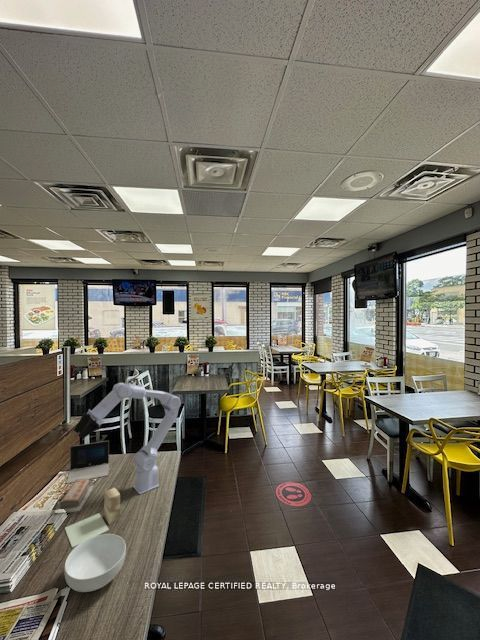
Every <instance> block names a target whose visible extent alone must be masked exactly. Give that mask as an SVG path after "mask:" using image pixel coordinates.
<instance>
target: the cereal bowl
mask: <svg viewBox="0 0 480 640" xmlns="http://www.w3.org/2000/svg"><path fill="white" fill-rule="evenodd" d="M126 553H127V546H126V541H125V540H124V538H122V537H121V536H120V535H117V534H113V533H103V534H101V535H97V536H94V537H91V538H89V539H87V540H85V541H83V542H82V543H80V544H79V545H78V546H75V547H73V548H72V550H71V551H70V553H69V554H68V556H67V557H66V559H65V563H64V570H63V571H64V578H65V581H66V584H67V585H68V586H69V587H70V589H72V590H74V591H75V592H79V593H87V592H93V591H97V590H99V589H102V588H103V587H105V586H107V585H108V584H109V583H110V582H112V581H114V579H115V577H117V575H118V574H119V573H120V571H121V569H122V568H123V565H124V563H125V560H126Z"/></svg>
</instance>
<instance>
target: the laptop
mask: <svg viewBox="0 0 480 640" xmlns="http://www.w3.org/2000/svg"><path fill="white" fill-rule="evenodd" d="M69 452H70V455H69V456H70V464H69V465H70V466H69V467H70V469H69V470H70V471H69V473H68V477H67V480H66V483H65V484H73V483H74V482H75V480H77V479H89V480H93V479H97V478H98V479H99V478H103V477H107V476H109V470H110V469H109V467H110V440H103V441H99V442H98V441H97V442H91V443H85V444H84V443H83V444H78V445H71V446H70V451H69Z"/></svg>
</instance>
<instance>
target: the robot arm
mask: <svg viewBox="0 0 480 640" xmlns="http://www.w3.org/2000/svg"><path fill="white" fill-rule="evenodd" d="M126 398H129V399H137V400H141V399H143V398H152V399H158V400H159V402H160V405H161V406H162V407H163V409H164V414H165V415H164V417H163V418H162V420H161V421H160V423H159V424H158V426H157V428H156V429H155V431H154V433H153V434H152V436H151V437H150V440H149V441H148V443H147V444H145V445H143V446H141V448H140V450H139V451H137V452H136V453H135V456H134V463H135V464H136V470H135V471H136V478H135V479H136V480H135V481H136V483H135V484H133V485H132V488H134V490H135V491H136V492H137V493H138V494H139V495H141V494H144V493H146V492H149V491H152V490H154V489H157V488H159V486H160V484H159V468H158V466H157V465H156V461H157V459H158V450H159V448H160V446H161V445H162V443H163V442H164V439H165V437H166V436H167V434H168V432H169V431H170V429H171V427H172V426H173V424H174V423H175V421H176V419H177V418H178V414H179V410H180V407H181V405H182V402H181V399H180V397H179V396H176V395H174V394H171V393H170V392H166V391H164V390H163V391H162V390H155V389H146V387H145V386H143V384H139V383H138V384H137V385H136V384H132V383H130V382H129V383H128V384H126V383H125V382H118V383H116V384H114V385H113V387H112V390H111V391H110V392H109V393H108V394H107V395H106V396H105V397H104V398H103V399H102V400H100V402H99V403H98V404H97V405H96V406H95V407H94V408H93V409H92V410H91V409H90V408H89V409H88V411H87V413H84V412H83V413H82V415H81V417H80V419H79V421H78V422H77V424H76V425H75V427H74V429H73V431H74V432H75V433H76V434H78V438H80V439H82V440H83V439H85V438H86V437H87V436H89V435H91V434H92V433H94V432H96V431H98V430H100V429H101V427H100V426H101V425H102V424H103V423H104V420H103V419H105V417H107V415H108V414H109V413H110V412H111V411H112V410H113V409H114V408H115V407H116V406H117V405H118V404H119V403H120V402H121V401H122V400H123V399H126Z"/></svg>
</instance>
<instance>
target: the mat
mask: <svg viewBox="0 0 480 640" xmlns="http://www.w3.org/2000/svg"><path fill="white" fill-rule="evenodd" d="M64 531H65V532H66V535H67V539H68V540H69V544H70V546H71V548H72V549H74V548H75V547H76V546H78V545H79V544H80V543H82V542H83V541H85V540H87V539H89V538H91V537H94V536H97V535H102V534H106V533H107V532H109V531H110V529H109V527H108V525H107V524H106V522H105V520H104V519H103V517H102V515H101V513H99V512H97V513H95V514H94V515H91V516H89V517H87V518H84V519H82V520H80V521H76V522H75V523H72V524H70V525H68V526H66V527H64Z"/></svg>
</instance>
